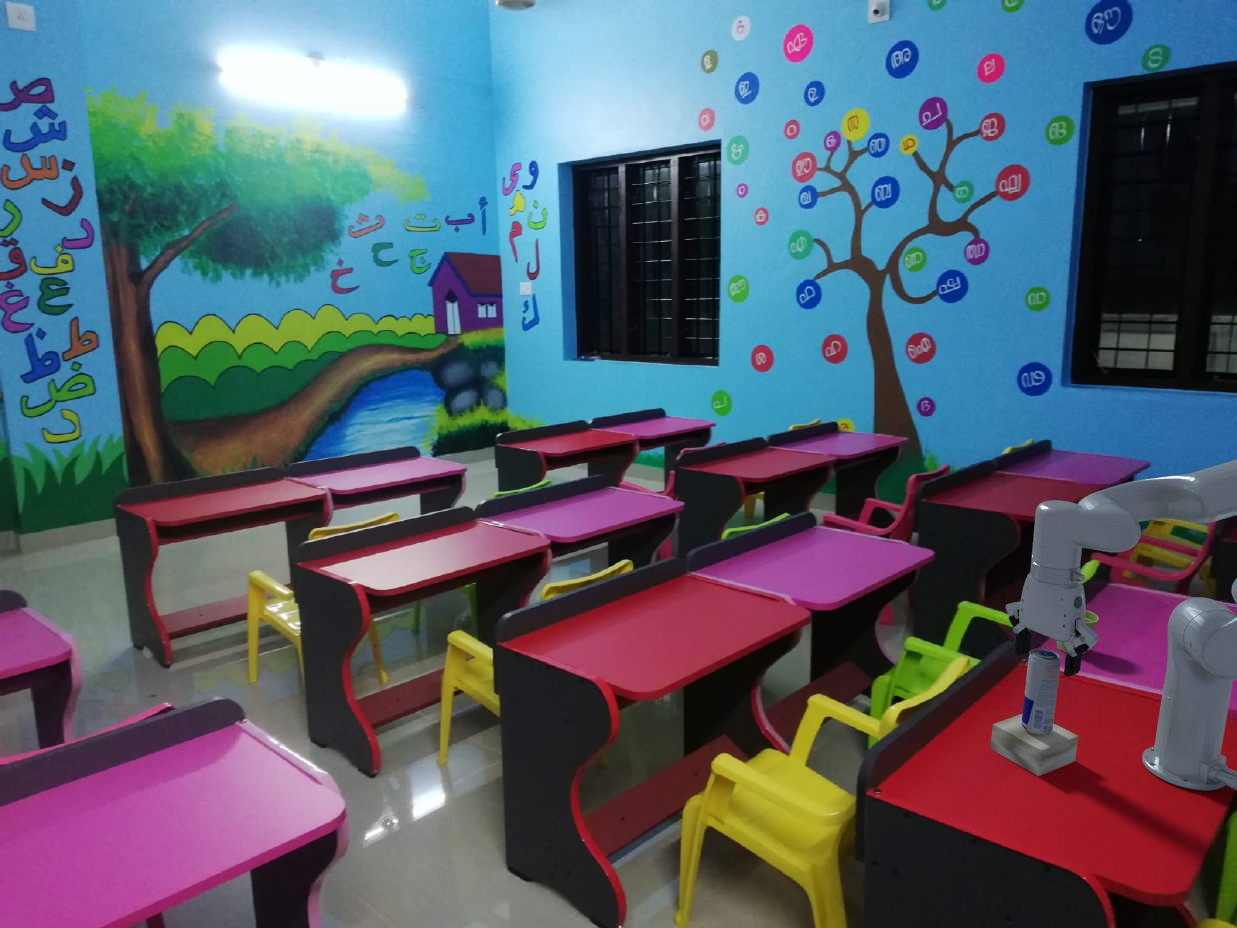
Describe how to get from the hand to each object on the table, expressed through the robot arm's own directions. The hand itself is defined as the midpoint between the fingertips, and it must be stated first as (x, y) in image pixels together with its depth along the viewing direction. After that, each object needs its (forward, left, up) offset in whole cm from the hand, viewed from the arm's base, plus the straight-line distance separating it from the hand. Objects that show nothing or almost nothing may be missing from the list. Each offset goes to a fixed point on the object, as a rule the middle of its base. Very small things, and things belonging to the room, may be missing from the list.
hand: (1046, 663), depth 154 cm
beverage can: (0, 0, -13) cm, 13 cm away
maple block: (0, 0, -18) cm, 18 cm away
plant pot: (+25, -47, -18) cm, 56 cm away
